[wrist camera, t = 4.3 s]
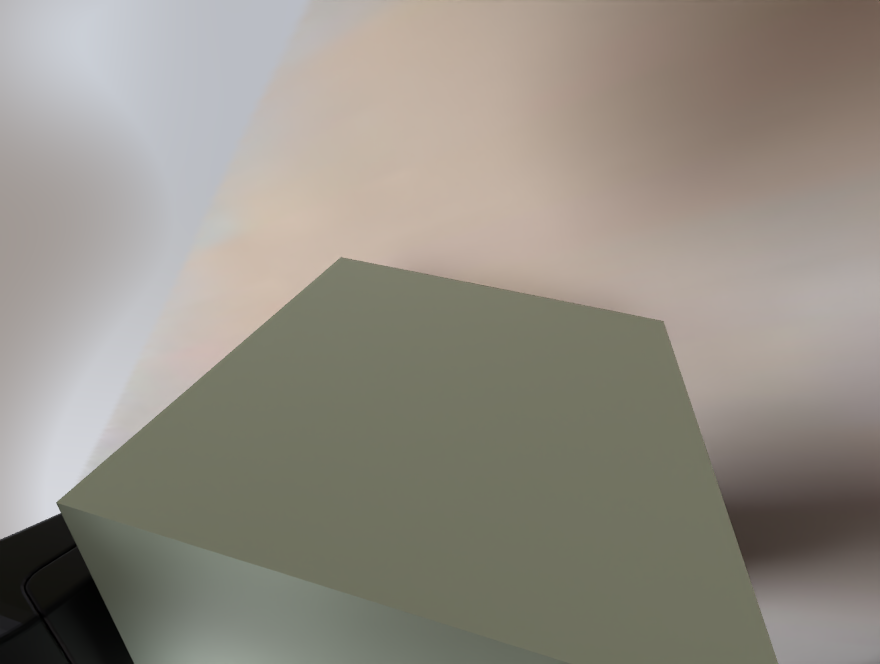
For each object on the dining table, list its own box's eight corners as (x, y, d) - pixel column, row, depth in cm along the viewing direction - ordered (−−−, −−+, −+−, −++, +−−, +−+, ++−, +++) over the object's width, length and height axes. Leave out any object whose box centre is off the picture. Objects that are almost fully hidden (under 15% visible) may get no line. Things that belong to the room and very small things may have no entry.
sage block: (576, 536, 11) (578, 918, 6) (342, 472, 12) (181, 761, 7) (663, 321, 8) (801, 734, 3) (341, 257, 9) (56, 503, 4)
